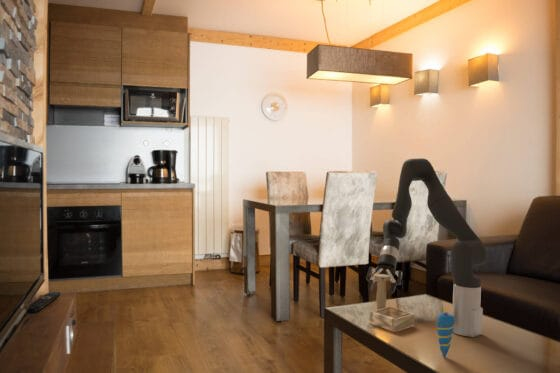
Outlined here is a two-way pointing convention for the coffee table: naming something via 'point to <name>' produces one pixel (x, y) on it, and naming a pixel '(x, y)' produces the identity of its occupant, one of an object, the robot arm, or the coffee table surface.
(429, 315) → the coffee table surface
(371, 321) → the socket block
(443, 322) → the ornament
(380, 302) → the handle
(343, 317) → the coffee table surface
